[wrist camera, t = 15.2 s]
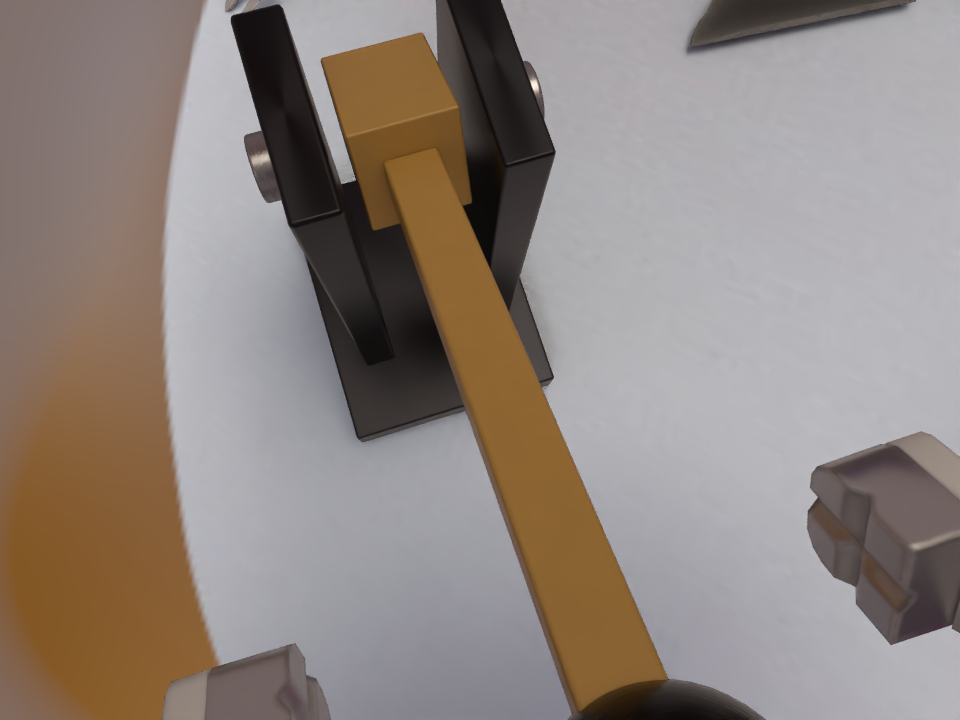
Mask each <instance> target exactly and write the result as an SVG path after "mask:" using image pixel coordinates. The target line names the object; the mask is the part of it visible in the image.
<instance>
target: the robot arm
mask: <svg viewBox="0 0 960 720" xmlns="http://www.w3.org/2000/svg"><path fill="white" fill-rule="evenodd" d="M810 488H811V490H812V491H813V492H814V493H815V494H816V495H817V496H818V498H817V499H816V501H815V502H814V503H813V505H812V506H811V508H810V509H809V510H808V519H807V530H808V533H809V536H810V539H811V542H812V546H813V548H814V550H815V552H816V553H817V555H818V557H819V559H820V560H821V562H822V563H823V565H824V566H825V567H826V568H827V569H828V571H829V572H830V573H831V574H832V576H833V577H834V578H837V579H839V580H841V581H844V582H846V583H848V584H851V585H853V586H855V591H856V604H857V606H858V607H859V608H860V609H861V610H862V612H863V613H864V614H865V615H866V616H867V617H868V619H869V620H870V621H871V622H872V623H873V625H874V626H875V627H876V628H877V629H878V630H879V632H880V633H881V634H882V635H883V636H884V638H885V639H886V640H887V641H888V642H889V643H890V645H892V644H895V643H898V642H901V641H904V640H907V639H911V638H914V637H917V636H920V635H923V634H926V633H929V632H932V631H935V630H938V629H941V628H944V627H947V626H950V625H953V626H952V629H954V630H955V631H957V632H959V633H960V457H959V456H958V455H956V454H955V453H954V452H953V451H952V450H950V449H949V448H948V447H947V446H945V445H944V444H943V443H942V442H940V441H939V440H938V439H937V438H935V437H934V436H932V435H930V434H927V433H924V432H922V431H921V432H918V433H915V434H912V435H909V436H906V437H903V438H900V439H897V440H894V441H891V442H888V443H886V444H880V445H877V446H874V447H871V448H868V449H865V450H862V451H860V452H857V453H854V454H851V455H848V456H845V457H843V458H840V459H837V460H834V461H831V462H828V463H825V464H823V465H820V466H817V467H816V469H815V470H814V471H813V473H812V474H811V483H810ZM162 720H331V718H330V713H329V709H328V705H327V702H326V699H325V696H324V694H323V691H322V689H321V687H320V685H319V683H318V681H317V679H316V678H313V677H310V676H307V675H306V668H305V658H304V656H303V654H302V653H301V651H300V649H299V648H298V646H297V645H296V643H294V644H290V645H286V646H283V647H280V648H277V649H273V650H270V651H267V652H263V653H260V654H257V655H254V656H250V657H247V658H244V659H241V660H237V661H234V662H231V663H228V664H224V665H221V666H218V667H215V668H212V669H209V670H205V671H202V672H200V673H196V674H193V675H190V676H187V677H184V678H181V679H178V680H174V681H171V683H170V685H169V688H168V690H167V692H166V694H165V697H164V705H163V713H162Z"/></svg>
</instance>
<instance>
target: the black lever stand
mask: <svg viewBox="0 0 960 720" xmlns="http://www.w3.org/2000/svg"><path fill="white" fill-rule="evenodd" d="M436 15H437V51H438V64H439V66H440V68H441V71H442V73H443V75H444V77H445V79H446V81H447V83H448V85H449V87H450V89H451V91H452V93H453V95H454V97H455V99H456V101H457V103H458V105H459V108H460V115H461V122H462V129H463V137H464V144H465V151H466V158H467V166H468V173H469V180H470V187H471V195H472V203H470V204H467V205H463V208H464V210H465V213H466V215H467V217H468V220H469V222H470V224H471V227H472V229H473V231H474V233H475V236H476V238H477V240H478V243H479V245H480V247H481V250H482V252H483V254H484V256H485V259H486V261H487V263H488V266H489V268H490V270H491V272H492V275H493V277H494V279H495V282H496V284H497V286H498V289H499V291H500V293H501V295H502V298H503V300H504V302H505V305H506V307H507V309H508V312H509V314H510V316H511V318H512V321H513V323H514V325H515V328H516V330H517V332H518V334H519V337H520V339H521V341H522V344H523V346H524V348H525V351H526V353H527V355H528V357H529V360H530V362H531V364H532V367H533V369H534V371H535V374H536V376H537V378H538V380H539V383H540V385H541V387H542V386H545V385H548V384H550V382H551V381H552V380H553V378H554V376H553V373H552V370H551V367H550V364H549V361H548V358H547V355H546V353H545V350H544V347H543V344H542V341H541V338H540V335H539V332H538V329H537V326H536V323H535V320H534V317H533V314H532V312H531V309H530V306H529V303H528V300H527V297H526V294H525V291H524V288H523V285H522V282H521V279H520V273H521V270H522V267H523V263H524V260H525V256H526V253H527V249H528V246H529V243H530V239H531V236H532V232H533V229H534V226H535V222H536V219H537V215H538V212H539V208H540V205H541V202H542V198H543V195H544V191H545V188H546V184H547V181H548V178H549V174H550V171H551V167H552V164H553V161H554V157H555V153H556V151H555V148H554V146H553V143H552V140H551V137H550V135H549V132H548V129H547V126H546V124H545V121H544V101H543V96H542V91H541V87H540V83H539V80H538V77H537V75H536V72H535V70H534V68H533V67H532V65H531V64H530V63H529V62H528V61H523V60H522V57H521V55H520V52H519V49H518V46H517V44H516V41H515V38H514V35H513V33H512V30H511V27H510V24H509V22H508V19H507V16H506V13H505V11H504V8H503V5H502V2H501V0H436ZM231 25H232V28H233V32H234V35H235V39H236V42H237V46H238V49H239V53H240V56H241V60H242V63H243V67H244V70H245V74H246V77H247V81H248V84H249V88H250V91H251V95H252V98H253V102H254V105H255V109H256V112H257V116H258V119H259V123H260V126H261V130H262V131H258V132H254V133H251V134H247V135H245V136H244V143H245V148H246V152H247V156H248V159H249V162H250V166H251V169H252V172H253V174H254V177H255V180H256V182H257V185H258V187H259V190H260V192H261V194H262V196H263V198H264V200H265V201H266V202H267V203H272V202H276V201H279V200H282V204H283V207H284V211H285V214H286V218H287V221H288V225H289V227H290V229H291V230H292V232H293V234H294V236H295V237H296V239H297V241H298V243H299V245H300V246H301V248H302V250H303V252H304V254H305V257H306V261H307V264H308V268H309V271H310V275H311V278H312V282H313V285H314V289H315V292H316V296H317V299H318V303H319V306H320V310H321V313H322V317H323V320H324V324H325V327H326V331H327V334H328V338H329V341H330V345H331V348H332V352H333V355H334V359H335V362H336V366H337V369H338V373H339V376H340V380H341V383H342V387H343V390H344V394H345V397H346V401H347V404H348V407H349V411H350V414H351V418H352V421H353V425H354V428H355V432H356V435H357V438H358V439H359V440H360V441H362V442H365V441H368V440H371V439H375V438H378V437H381V436H384V435H388V434H391V433H394V432H397V431H400V430H404V429H407V428H410V427H413V426H416V425H420V424H423V423H426V422H429V421H433V420H436V419H439V418H442V417H445V416H449V415H452V414H455V413H458V412H462V411H465V410H466V409H465V407H464V404H463V401H462V398H461V395H460V392H459V389H458V387H457V384H456V381H455V378H454V375H453V372H452V370H451V367H450V364H449V361H448V358H447V355H446V352H445V350H444V347H443V344H442V341H441V338H440V335H439V332H438V330H437V327H436V324H435V321H434V318H433V315H432V312H431V310H430V307H429V304H428V301H427V298H426V295H425V293H424V290H423V287H422V284H421V281H420V278H419V275H418V273H417V270H416V267H415V264H414V261H413V258H412V255H411V253H410V250H409V247H408V244H407V241H406V238H405V235H404V233H403V230H402V227H401V224H400V223H399V224H396V225H392V226H389V227H385V228H382V229H378V230H373V229H372V228H371V225H370V222H369V219H368V216H367V213H366V210H365V206H364V203H363V200H362V197H361V194H360V190H359V187H358V184H357V181H352V182H349V183H345V184H341V182H340V179H339V176H338V173H337V170H336V167H335V164H334V161H333V158H332V155H331V152H330V149H329V146H328V143H327V140H326V137H325V134H324V131H323V128H322V125H321V122H320V119H319V116H318V113H317V110H316V107H315V103H314V100H313V97H312V94H311V91H310V88H309V85H308V82H307V79H306V76H305V73H304V70H303V67H302V64H301V61H300V58H299V55H298V52H297V49H296V46H295V43H294V40H293V37H292V34H291V31H290V28H289V25H288V22H287V19H286V16H285V13H284V10H283V8H282V7H281V6H280V5H277V4H276V5H272V6H268V7H264V8H260V9H256V10H252V11H248V12H244V13H240V14H236V15H233V16H232V17H231Z"/></svg>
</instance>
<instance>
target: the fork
mask: <svg viewBox="0 0 960 720" xmlns="http://www.w3.org/2000/svg"><path fill="white" fill-rule="evenodd" d="M237 1H238V0H227V1H226V9H225V11H227V10H231V9H232V8H233V7H234V5H235V4H236V3H237ZM259 2H260V0H249V2H248V4H247V5H246V7H245V8H244V10H243V12H242V13H244V12H248V11H252V10H254V8H255V7H256V6H257V4H258V3H259Z"/></svg>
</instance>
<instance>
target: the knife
mask: <svg viewBox="0 0 960 720" xmlns="http://www.w3.org/2000/svg"><path fill="white" fill-rule="evenodd" d="M915 1H916V0H713V1H712V3H711V5H710V7H709V8H708V10H707V12H706V13H705V14H704V16H703V17H702V18H701V19H700V21H699V22H698V25H697V27H696V29H695V32H694V34H693V37H692V40H691V47H695V46H700V45H705V44H709V43H714V42H719V41H724V40H729V39H734V38H739V37H744V36H749V35H754V34H758V33H763V32H768V31H773V30H778V29H783V28H788V27H793V26H798V25H802V24H807V23H812V22H817V21H822V20H827V19H832V18H837V17H842V16H846V15H851V14H856V13H861V12H866V11H871V10H876V9H881V8H886V7H891V6H895V5H900V4H905V3H910V2H915Z"/></svg>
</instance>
